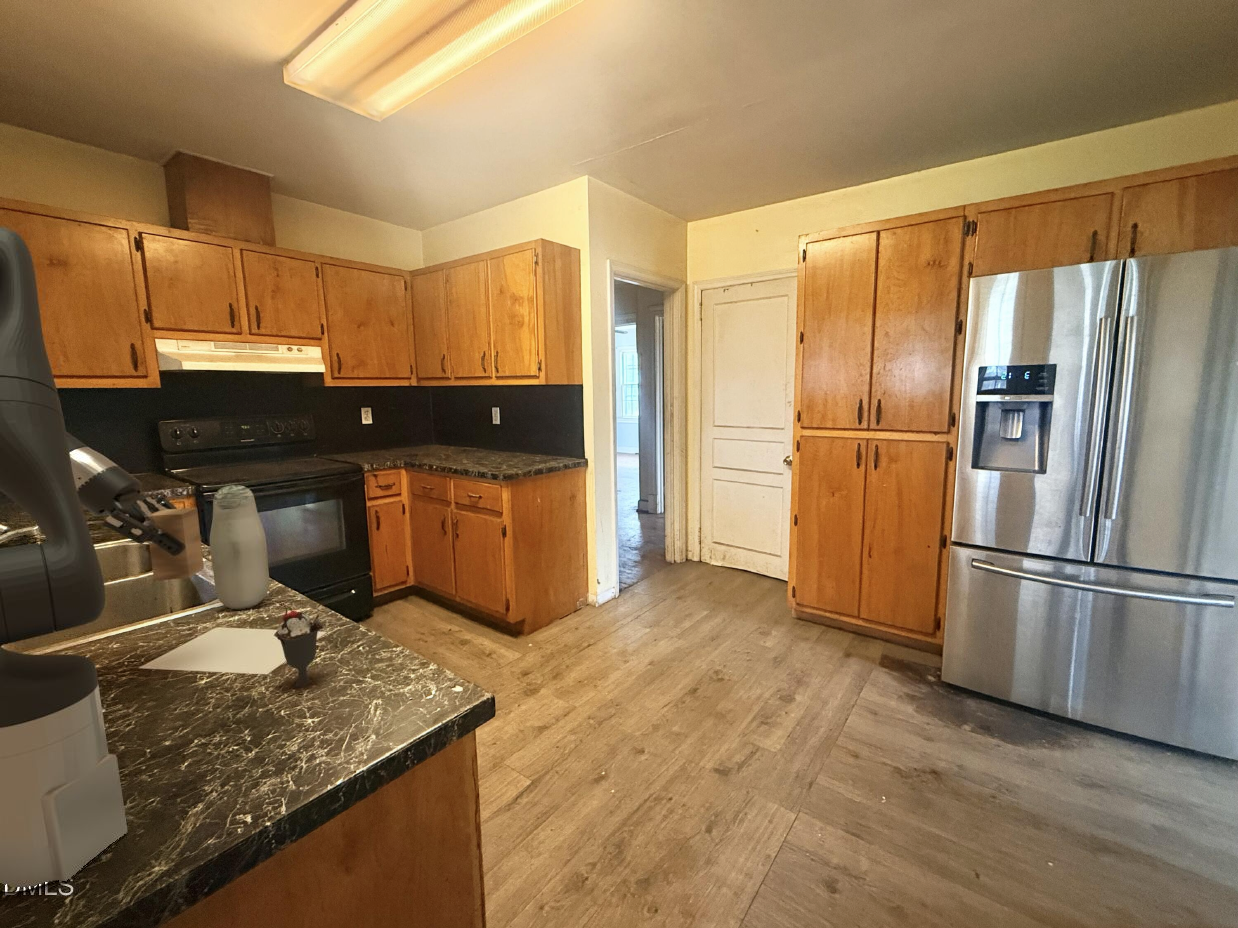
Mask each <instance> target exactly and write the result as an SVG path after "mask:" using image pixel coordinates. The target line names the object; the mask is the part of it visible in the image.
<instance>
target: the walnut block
mask: <svg viewBox="0 0 1238 928" xmlns="http://www.w3.org/2000/svg"><path fill="white" fill-rule="evenodd" d="M150 517H152V518H153V519H154V520H155V524H157V525H158V526H159V527H161V528H162V529H163V530H164V531H165V532H164V533H166V532H167V533H168V534H170V535H171V536H173V537H174V538H176V539H177V540H179V541H180V542H182V543H183V544H184V545H185V546H186V547H185V549H184V550H183V551H182V552H181V553H180V554H178V555H176V556H173V555H171V554H170V553H168V552H167V551H165V550H164V549H162V548H161V547H159V546H158V545H156V544H155V543H149V545H148V546H149V552H150V559H151V568H152V575H153V576H152V577H153V581H156V582H157V581H166V580H168V581H169V580H178V579H180V580H181V579H191V577H193V576H194V575H196V574H197V573H199V572H201V571H202V570H204V568H205V567H204V559H203V548H202V539H200V535H201V533H200V532H201V531H200V530H201V529H200V522H199V513H198V508H197V507H189V508H187V507H186V508H177V509H166V510H164V511H158V512H155V513H153V515H150ZM149 528H151V527H149ZM151 529H152V528H151ZM164 533H163V534H164Z"/></svg>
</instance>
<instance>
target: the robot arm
mask: <svg viewBox="0 0 1238 928" xmlns="http://www.w3.org/2000/svg"><path fill="white" fill-rule="evenodd" d="M37 285H38V284H37V278H36V271H35V267H34V262H33V257H32V255H31V252H30V250H29V247H28V245H27V244H26V242H25V240H24V239H23V237H22V236H21V235H20V234H19V233H17V231H14V230H13V229H11V228H9V227H5V226H1V225H0V492H1V493H3V494H4V495H6V496H7V497H8V498H10V499H11V500H12V501H14V503H16V504H17V505H18V506H19V507H21V509H22V510H24V511H25V513H27V514H28V515H29V516H30V517H31V519H32V520H33V521H34V522H35V523H36V525H37V527H38V528H40V530H41V532H42V533H43V535H44V537H45V538H46V540H47V541H42V542H40V543H39V542H36V543H35V542H34V543H29V544H22V545H15V546H8V547H2V548H0V883H2V884H4V885H6V884H7V886H8V885H9V886H10V887H14V888H15V887H21V888H22V887H25V888H26V886H27V887H29V886H36V885H38V884H42V883H44V882H49V881H53V880H59V881H66V882H68V881H69V880H71V879H72V878H73V877H74V876H75V875H77V874H78V873H79V872H80V871H81V870H82V869H81V868H83V866H84V865H86V864H87V863H88V862H89V861H90V860H92V859H93V858H94V857H96V856H97V855H98V854H99V853H100V852H101V851H103V850H104V849H106V848H107V847H108V846H109V845H110V844H112V843H113V842H115V841H116V840H117V839H118V840H120V839H121V838H122V837H123V836H125V835H126V834H127V833H128V825H127V819H126V813H125V812H126V810H125V806H124V799H123V791H122V785H121V779H120V778H121V777H120V772H119V764H118V757H117V755H116V754H114V753H109V749H108V748H109V747H108V741H107V736H106V727H105V721H104V714H103V707H102V701H101V694H100V687H99V680H98V679H99V678H98V674H97V668H96V664H95V663H94V661H93V660H92V659H90V658H89V657H87V656H84V655H78V654H66V653H65V654H30V653H23V652H17V651H12V650H8V649H6V648H4V647H3V646H5V645H9V644H12V643H13V644H14V643H17V642H21V641H25V640H29V639H34V638H37V637H40V636H42V637H43V636H45V635H49V634H53V633H55V632H56V633H57V632H62V631H66V630H69V629H73V628H77V627H81V626H84V625H87V624H89V623H93V622H95V621H96V620H98V619H99V618H100V617H101V615H102V614H103V612H104V609H105V605H106V588H105V581H104V575H103V572H102V568H101V566H100V560H99V558H98V554H97V551H96V548H95V545H94V541H93V538H92V536H91V532H90V529H89V525H88V522H87V519H86V516H85V513H84V509H83V508H85V509H86V510H88V511H89V512H90V513H92V514H93V515H95V516H97V517H104V516H107V515H108V516H107V517H106V519H104V521H102V523H101V524H103V526H105V527H107V528H108V529H110V530H112V531H114V532H115V533H118V534H120V535H121V536H123V537H125V538H128V539H129V540H131V541H132V542H135V543H137V544H140V545H143V544H144V543H145V542H147V543H155V544H156V545H158V546H159V547H161V548H162V549H164V550H165V551H167V552H168V553H170V554H171V555H173V556H176V555H178V554H180V553H181V552H182V551H183V550H184V549H185V547H186V546H185V545H184V544H183V543H182V542H180V541H179V540H177V539H176V538H174V537H173V536H171V535H170V534H168V533H167V532H166V533H164V532H165V531H164V530H163V529H162V528H161V527H159V526H158V525H157V524H155V520H154V519H153V518H152V517H150V515H153V513H155V512H158V511H164V510H166V509H178V508H177V507H176V506H175V505H174V504H173V503H172V502H170V500H168V499H167V497H165V496H162V495H159V496H158V497H157V498H156V499H152V498H151V497H149V496H147V495H145V494H142V493H141V488H142V485H143V484H142V482H141V480H139V479H137V478H136V477H135V476H133V475H132V474H130V473H129V472H128V471H126V470H125V469H124V468H122V467H121V466H119V465H117V464H116V463H115V462H113V461H112V460H110V459H109V458H108V457H106V455H103V454H101V453H100V452H98V451H96V450H94V449H92V448H90V447H89V446H88V445H86V444H85V443H83V442H82V441H81V440H79V439H78V438H76V437H75V436H73V435H72V434H70V432H68V431H66V425H65V419H64V413H63V410H62V404H61V400H60V395H59V393H58V392H59V391H58V389H57V385H56V382H55V377H54V375H53V372H52V367H51V364H50V361H49V360H50V359H49V358H48V353H47V352H48V351H47V348H46V345H45V339H44V333H43V328H42V319H41V318H42V317H41V312H40V303H39V295H38V286H37ZM149 527H151V528H152V529H151V528H149ZM163 533H164V534H163ZM200 539H201V540H203V537H202V535H201V534H200ZM124 834H125V835H124ZM120 837H121V838H120ZM119 838H120V839H119ZM118 840H117V841H118ZM117 841H116V842H117ZM116 842H115V843H116ZM113 844H114V843H113ZM113 844H112V845H113ZM107 849H108V848H107ZM107 849H106V850H107ZM97 857H98V856H97ZM97 857H96V858H97ZM86 866H87V865H86ZM83 869H84V868H83ZM79 870H80V871H79ZM78 871H79V872H78ZM77 872H78V873H77ZM76 873H77V874H76ZM73 875H74V876H73ZM72 876H73V877H72ZM71 877H72V878H71ZM68 879H69V880H68ZM67 880H68V881H67Z"/></svg>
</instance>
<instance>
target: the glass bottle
mask: <svg viewBox="0 0 1238 928" xmlns="http://www.w3.org/2000/svg"><path fill="white" fill-rule="evenodd" d="M212 508H213V509H212V521H211V528H210V534H209V551H210V558H211V565H212V573H213V579H214V580H213V581H214V588H215V593H216V596H217V598H218V601H219V602H220V603H221V604H222V605H223V606H224V607H226V608H229V609H232V610H247V609H251V608H252V607H255V606H256V605H259V603H261V602H263V600H264V599H265V597H266V596H267V594H268V592H269V590H270V589H269V588H270V573H269V560H268V548H267V547H268V546H267V537H266V532H265V529H264V526H263V524H262V521H261V518H260V515H259V512H258V509H257V504H256V500H255V496H254V494H253V492H252V491H251V489H249V488H248V487H247V486H244V485H240V484H236V485H235V484H233V485H226V486H223V487H221V488H220V489H218V490H217V491H216V492H215V494H214V496H213V501H212ZM246 608H247V609H246Z"/></svg>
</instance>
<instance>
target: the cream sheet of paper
mask: <svg viewBox="0 0 1238 928" xmlns="http://www.w3.org/2000/svg"><path fill="white" fill-rule="evenodd" d="M277 631H278V629H268V628H267V629H266V628H265V629H264V628H242V627H241V628H240V627H221V626H220V627H214V628H212V629H210V630H208V631H207V632H205V633H203V634H201V635H199V636H197V637H195V638H193V639H191V640H189V641H188V642H186V643H185V642H184V643H183V644H181V645H180V646H178V647H176V648H174V649H172V650H170V651H168V652H166V653H164V654H163V655H161V656H158V657H157V658H155V659H153V660H150V661H149V662H147V663H145V664H144V665H142V666H139V667H138V669H149V670H167V671H169V670H170V671H171V670H172V671H187V672H188V671H189V672H190V671H191V672H206V673H207V672H209V673H210V672H211V673H230V674H248V675H249V674H251V675H268V674H270V673H272V671H274V670H275V669H277V668H278V667H280V666H281V665H282V664H284V663H285V662H287V661H286V659H285V656H284V652H283V648H282V644H281V641H280V640H278V638H277V637H275V636H274V634H275V633H276V632H277ZM327 633H328V631H321V630H319V631H318V633H317V640H319V639H320V638H321V637H323V636H324V635H325V634H327Z"/></svg>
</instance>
